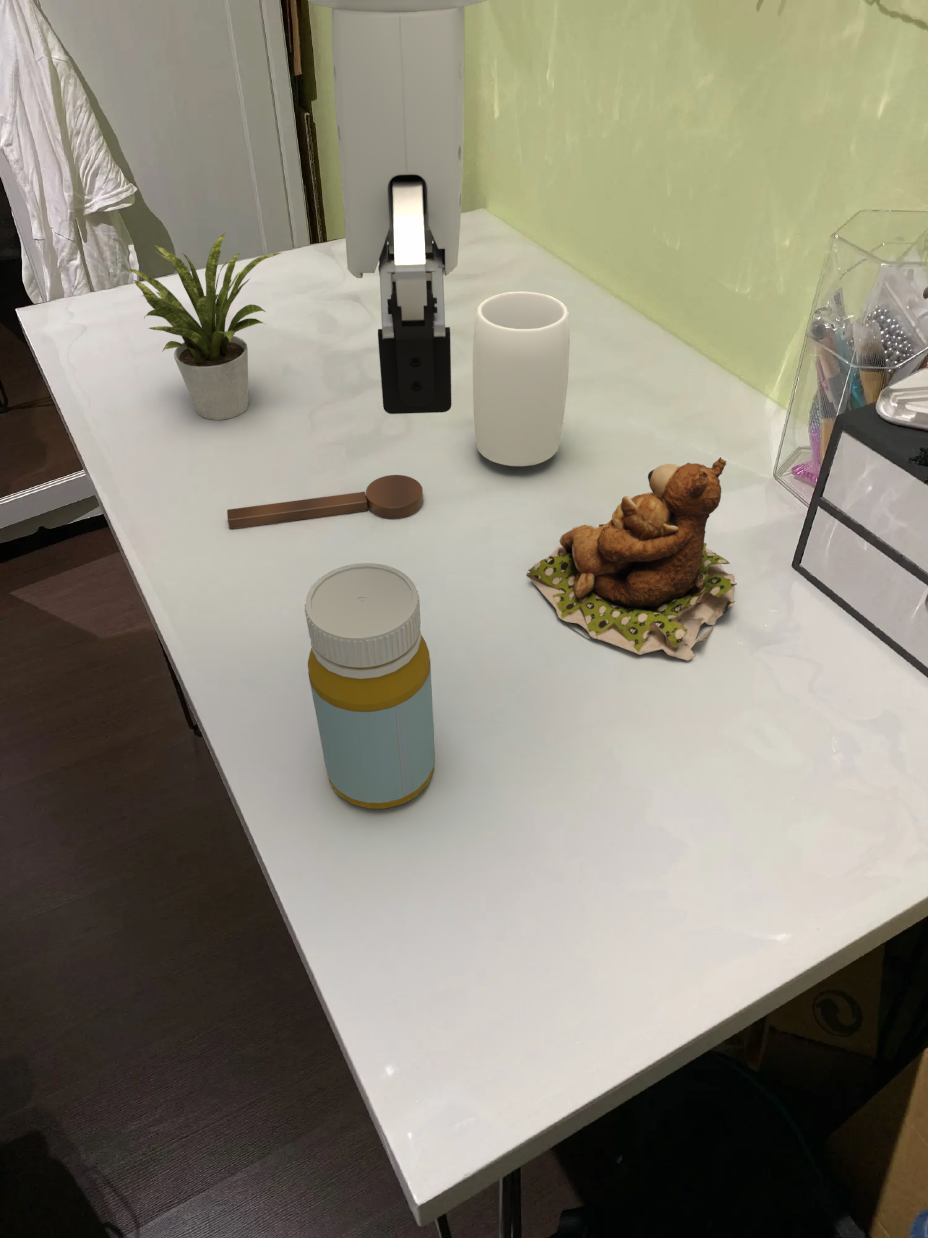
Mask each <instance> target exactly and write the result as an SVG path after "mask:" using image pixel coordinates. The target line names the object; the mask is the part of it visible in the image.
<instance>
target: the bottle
mask: <svg viewBox="0 0 928 1238" xmlns="http://www.w3.org/2000/svg"><path fill="white" fill-rule="evenodd" d="M420 604H421V603H420V594H419V591H418V589H417V586H416V584H415V583H414V582H413V580H412V579H411V578H410V577H409V576H408V575H407V574H406V573H405V572H403V571H401V570H400V569H397V568H395V567H393V566H389V565H387V564H382V563H375V562H361V563H359V562H358V563H352V564H351V563H350V564H347V565H344V566H340V567H337V568H335V569H332V570H330V571H328V572H327V573H325V574H324V575H322V576H320V577H319V578H318V579H317V580H316V581H315V582H314V583H313V584H312V585H311V587H310V588H309V590H308V592H307V594H306V597H305V603H304V615H305V619H306V624H307V630H308V631H307V632H308V635H309V639H310V645H311V647H310V651H309V654H308V660H307V670H308V672H307V673H308V679H309V684H310V689H311V695H312V701H313V707H314V711H315V717H316V723H317V727H318V731H319V732H318V733H319V737H320V738H319V739H320V744H321V750H322V754H323V760H324V765H325V769H326V775H327V778H328V782H329V784H330V786H331V787H332V789H333V790H334V791H335V793H336V794H337V795H338V796H339V797H341V798H342V799H343V800H345V801H346V802H348V803H350V804H352V805H355V806H358V807H362V808H365V809H389V808H393V807H397V806H400V805H403V804H405V803H407V802H408V801H411V800H412V799H414V798H416V797H417V796H418V795H420V793H421V792H423V790H424V789H425V788H426V787H427V786H428V785H429V783H430V781H431V778H432V777H433V774H434V772H435V763H436V762H435V761H436V759H435V758H436V750H435V749H436V747H435V745H436V744H435V730H434V729H435V728H434V708H433V688H432V668H431V667H432V666H431V665H432V664H431V657H430V656H431V655H430V649H429V648H428V645H427V642H426V641H425V638H424V636H423V635H422V633H421V607H420Z"/></svg>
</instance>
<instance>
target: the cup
mask: <svg viewBox="0 0 928 1238" xmlns="http://www.w3.org/2000/svg"><path fill="white" fill-rule="evenodd" d="M474 319H475V320H474V330H473V344H472V399H473V400H472V404H473V405H472V407H473V422H474V424H473V425H474V437H475V446H476V449H477V451H478V452H479V453H480V454H481V455H482V456H483V457H484V458H486V459H487V460H489V461H490V462H493V463H496V464H499V465H504V466H509V467H528V466H535V465H538V464H541V463H544V462H546V461H547V460H550V459H551V458H553V456H554V455H556V453H557V452H558V451H559V448H560V445H561V439H562V433H563V426H564V420H565V419H564V417H565V412H566V411H565V410H566V402H567V392H568V383H569V373H570V372H569V371H570V348H571V347H570V345H571V344H570V343H571V339H570V336H571V334H570V331H571V330H570V313H569V309H568V308H567V306H566V304H564V303H563V302H562V301H561V300H559V299H557V298H556V297H553V296H552V295H549V294H545V293H541V292H540V293H539V292H534V291H507V292H503V293H498V294H495V295H492V296H489V297H488V298H486V299H485V300H483V301H481V303H480V304H479V305H478V306H477V308H476V309H475V318H474Z"/></svg>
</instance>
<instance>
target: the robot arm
mask: <svg viewBox="0 0 928 1238" xmlns="http://www.w3.org/2000/svg"><path fill="white" fill-rule="evenodd" d="M308 1H309V2H310V3H311V4H313V5H317V6H320V7H324V8H329V9H331V49H332V50H331V51H332V72H333V73H332V75H333V93H334V107H335V120H336V121H335V122H336V132H337V133H336V134H337V144H338V157H339V168H340V181H341V195H342V206H343V207H342V208H343V209H342V210H343V222H344V235H345V236H344V237H345V251H346V252H345V253H346V267H347V271H348V272H349V273H350V274H351V275H352V276H354V277H355V278H356V279H363V278H364V277H363V276H364V274H375V272H376V269H378V276H379V285H380V286H379V289H380V292H379V293H380V312H381V313H380V314H381V315H380V317H381V328H378V329H377V343H378V354H379V369H380V382H381V394H382V395H381V397H382V407H383V410H384V411H385V413H387V414H390V415H402V414H403V415H404V414H406V415H407V414H434V413H437V414H438V413H447V412H449V411H450V410H451V408H452V357H451V356H452V355H451V353H452V352H451V351H452V349H451V347H452V346H451V327H450V326H446V314H445V313H446V312H445V311H446V310H445V286H444V276H448V275H450V274H451V273H452V272H453V271H454V270H455V269H456V268H457V267H458V260H459V250H460V249H459V247H460V235H461V233H460V232H461V222H462V221H461V220H462V219H461V218H462V205H463V203H462V202H463V182H464V181H463V178H464V153H465V152H464V151H465V83H466V82H465V81H466V79H465V78H466V77H465V75H466V71H465V70H466V68H465V67H466V63H465V60H466V56H465V55H466V54H465V53H466V49H465V48H466V47H465V45H466V43H465V42H466V41H465V40H466V39H465V38H466V37H465V35H466V34H465V31H466V30H465V23H466V21H465V7H468V6H472V5H477V4H480V3H483V2H486V1H487V0H308ZM377 267H378V268H377Z"/></svg>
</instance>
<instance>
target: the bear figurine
mask: <svg viewBox="0 0 928 1238" xmlns="http://www.w3.org/2000/svg"><path fill="white" fill-rule="evenodd" d="M726 466H727V460H724V459H723V458H722V457H719V458H718V459H717V460H716V461H715V462H713V463H712V465H711V467H707V466H706V465H704V464H700V463H696V462H695V463H692V462H686V463H685V464H683V465H678V464H674V463H665V464H661V465H659V466H658V467H655V468H653V469H652V470H650V471H649V472H648V475H647V480H648V485H649V488H650V490H651V491H650V492H648V493H647V492H646V493H642V494H637V495H635V496H633V497H630V496H628V495H625V496H623V497H622V498H621V502H620V503H619V504H618V505H617V506H616V509H615V510H614V511H613V512H612V515H611V518H610V520H609V521H608V522H606V523H599V524H598V526H594V525H587V524H582V525H579V526H578V525H577V526H574V527H572V529H570V530H569V531H567V532H565V533H564V534H562V535H561V536H560V538H559V544H560V546H558V547H557V548H556V549H555V550H554V551H553V552H552V553H551V554H549V556H548V557H545V558H543V559H541V560H540V561H538V562H537V563H535V564H534V565H533V566H532V567H531V568H529V569H528V572H526V574H525V575H526V578H528V580H529V581H530V582H531V583H532V584H533V585H534V586H535V587H536V588H537V589H538V590H539V592H541V594H542V595H543V596H544V597H545V598H546V599H547V601H548V602H550V604H551V605H552V606H553V608H555V612H556V614H557V618H559V619H560V620H562V621H563V622H566V623H573V624H578V625H579V626H580V627H582V628H584V629H585V630H586V631H587V632H588V635H587V634H585V633H583V632H582V631H580V630H579V629H577V628H575V627H574V628H575V629H576V630H577V631H579V632H580V633H581V634H583V635H584V636H585V637H587V638H589V639H591V638H592V639H596V640H599V641H603V642H606V643H608V644H611V645H613V646H616V647H619V648H621V649H624V650H627V651H630V652H632V653H635V654H637V655H639V656H641V655H644V654H647V653H648V654H649V653H651V652H656V651H659V650H660V651H661V650H663V651H664V652H665V654H666V655H668V656H671V657H673V658H677V659H681V660H684V661H687V662H688V661H690V660H692V659H694V658H697V655H695V653H694V651H692V648H693V647H694V646H695V644H696V643H699V642H704V641H705V640H706V638H708V635H709V634H710V633H711V631H712V629H713V628H714V626H715V625H716V623H717V620H718V619H719V618H720V617H722V616H723V615H724V614H725V613H727V612H728V610H729V608H730V607H733V606H734V605H735V603H736V600H734V596H735V586H736V585H738V583H737V582H736V577H735V574H733V573H728V572H726V571H725V569H724V568H723V566H722V565H730V564H731V563H730V562H729V561H728V560H727V559H726V558H724V557H723V556H720V555H719V554H717V553H716V552H714V551H713V550H712V549H709V548H707V545H708V543H707V542H705V537H706V526H707V522H708V519H709V518H710V517H711V516H710V515H711V514H712V513H714V512H715V510H716V509H717V508H718V507H719V505H720V502H721V498H722V486H721V479H719V477H720V476H721V475H723V471H724V469H725V467H726ZM704 623H705V624H706V625H709V626H712V627H710V628H709V629H708V630H707V631H705V633H703V634H702V635H701V636H700V637H699V638H697V637H698V634H699V631H700V629H701V626H702V625H703V624H704Z"/></svg>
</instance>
